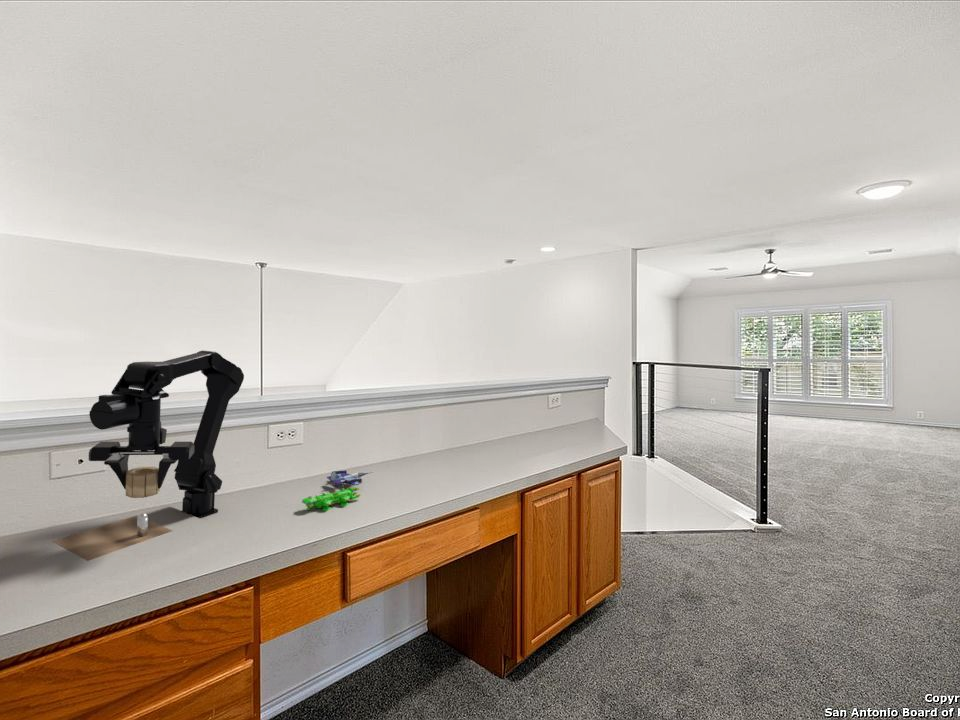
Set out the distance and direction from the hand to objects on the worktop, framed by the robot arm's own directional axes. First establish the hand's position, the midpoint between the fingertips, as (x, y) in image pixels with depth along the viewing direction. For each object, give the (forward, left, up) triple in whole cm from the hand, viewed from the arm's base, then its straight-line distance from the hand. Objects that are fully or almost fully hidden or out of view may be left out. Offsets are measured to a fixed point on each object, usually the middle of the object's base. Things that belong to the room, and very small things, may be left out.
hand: (143, 488), depth 110 cm
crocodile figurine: (-41, +18, -13) cm, 47 cm away
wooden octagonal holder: (0, 0, -1) cm, 1 cm away
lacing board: (+4, -4, -12) cm, 13 cm away
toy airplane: (-56, +11, -13) cm, 59 cm away
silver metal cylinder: (0, 0, -11) cm, 11 cm away
